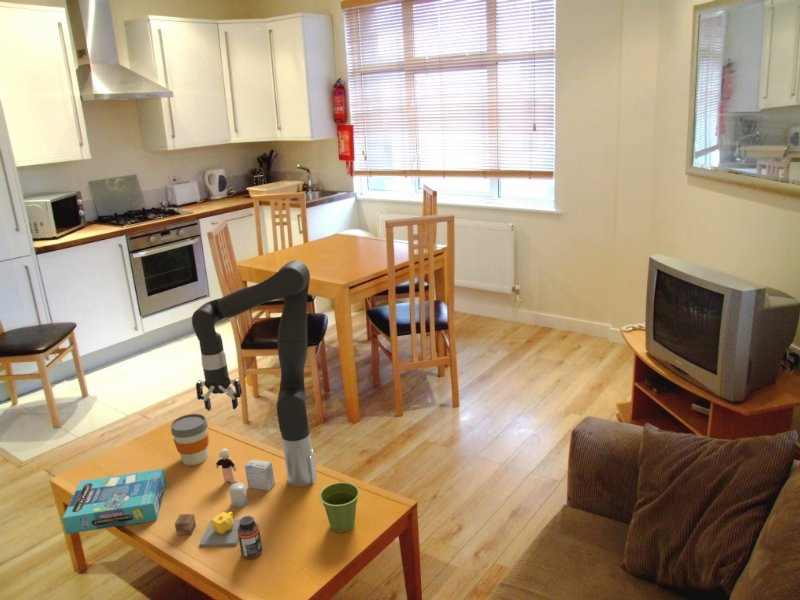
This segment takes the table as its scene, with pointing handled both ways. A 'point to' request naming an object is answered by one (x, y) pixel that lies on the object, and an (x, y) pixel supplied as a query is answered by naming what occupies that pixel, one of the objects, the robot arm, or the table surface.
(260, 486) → the medicine box
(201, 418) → the reusable coffee cup
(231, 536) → the slate mat
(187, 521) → the walnut cube
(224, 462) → the grandmother figurine
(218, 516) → the teapot
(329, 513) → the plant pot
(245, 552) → the supplement bottle
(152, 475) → the game box
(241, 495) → the white rounded cylinder
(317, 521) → the table surface
